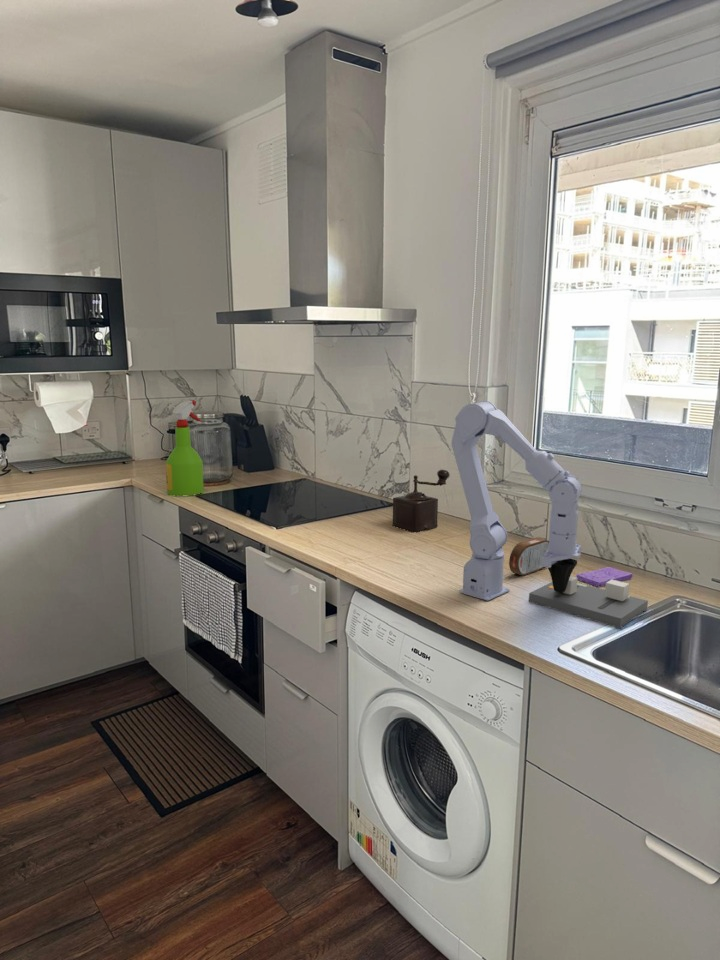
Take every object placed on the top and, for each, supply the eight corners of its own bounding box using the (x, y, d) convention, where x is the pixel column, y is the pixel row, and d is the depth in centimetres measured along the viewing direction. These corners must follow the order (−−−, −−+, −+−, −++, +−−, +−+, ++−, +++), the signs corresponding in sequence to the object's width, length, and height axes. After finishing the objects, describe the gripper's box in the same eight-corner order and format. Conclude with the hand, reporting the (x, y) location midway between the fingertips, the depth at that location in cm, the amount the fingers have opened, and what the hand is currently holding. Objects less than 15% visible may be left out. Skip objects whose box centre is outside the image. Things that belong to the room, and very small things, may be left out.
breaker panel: (620, 627, 142) (621, 618, 141) (528, 601, 156) (529, 592, 155) (647, 609, 152) (647, 600, 151) (558, 586, 166) (559, 577, 165)
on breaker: (622, 601, 150) (623, 587, 149) (604, 596, 153) (605, 582, 152) (628, 597, 152) (629, 583, 151) (610, 593, 155) (611, 579, 154)
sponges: (575, 581, 171) (576, 573, 171) (609, 572, 178) (609, 565, 177) (598, 589, 165) (599, 582, 165) (632, 580, 172) (633, 573, 171)
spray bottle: (217, 488, 274) (214, 400, 267) (189, 498, 258) (185, 403, 251) (189, 485, 279) (185, 398, 272) (159, 494, 263) (155, 402, 256)
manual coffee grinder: (416, 533, 211) (417, 475, 208) (391, 526, 219) (392, 470, 216) (450, 525, 221) (452, 469, 217) (425, 518, 229) (427, 465, 226)
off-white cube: (570, 594, 154) (571, 581, 153) (553, 590, 156) (554, 576, 156) (576, 591, 156) (577, 577, 155) (560, 587, 158) (561, 573, 158)
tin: (542, 564, 182) (544, 533, 181) (552, 567, 180) (554, 536, 178) (507, 576, 173) (508, 544, 171) (517, 579, 170) (519, 546, 169)
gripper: (564, 542, 143) (560, 604, 146) (595, 529, 154) (591, 587, 156) (533, 535, 148) (530, 595, 151) (566, 523, 158) (562, 579, 161)
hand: (559, 591), depth 154 cm, fingers closed
